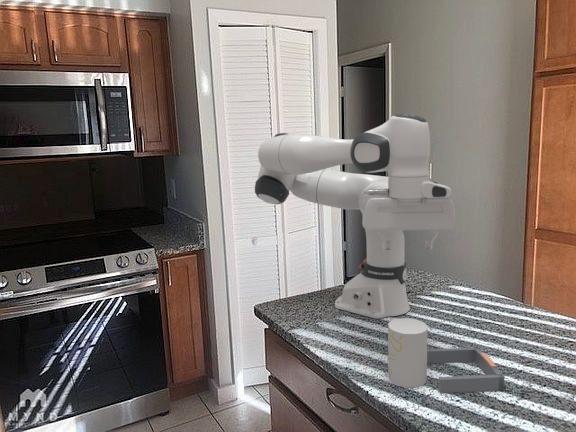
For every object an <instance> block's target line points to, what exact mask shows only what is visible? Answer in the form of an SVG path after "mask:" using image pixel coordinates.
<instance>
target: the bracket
mask: <svg viewBox="0 0 576 432" xmlns="http://www.w3.org/2000/svg"><path fill="white" fill-rule="evenodd" d="M472 362H474V363H475V364H476V365H477V366H478V367H479V369H480V370H481V372H482V373H484V375H478V374H477V375H460V376H456V375H455V376H439V377H438V392H439V394H451V393H453V394H454V393H455V394H456V393H477V392H478V393H479V392H482V393H483V392H500V391H501V392H502V391H503V392H504V391H505V379H506V378H505V375H503V373H501V371H500V370H499V369H498V368H497V364H495V362H494V361H492V359H491V358H490V357H489V355H487V353H485V352H483V351H482V350H481V349H480V348H479V347H456V348H452V347H451V348H433V349H428V348H427V365H429V364H449V363H450V364H452V363H472Z"/></svg>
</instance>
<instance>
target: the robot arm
mask: <svg viewBox="0 0 576 432" xmlns="http://www.w3.org/2000/svg"><path fill="white" fill-rule="evenodd" d="M257 154H258V158H257V159H258V162H259V164H260V165H261V166H260V169H259V171H258V175H257V180H255V183H254V184H255V185H254V193H255V195H256V197H257V198H259V199H260V200H261V201H263V202H264V203H267V204H271V205H281V204H284V202H286V200H287V198H288V197H289V195H290V192H291V194H293V196H294V197H296V198H299V199H301V200H303V201H307V202H310V203H313V204H318V205H322V206H328V207H331V208H337V209H341V210H360V213H361V215H362V222H361V223H362V224H361V225H362V227H363V229H364V230H365V239H366V240H365V241H366V244H365V245H366V258H365V259H364V260H363V262H361V263H360V265H359V266H358V267H359V268H358V270H359V271H360V273H359V274H358V273H357V275H355V276H354V277H352V278H351V279H350V280H349V281H347V282H346V283H345V285H344V287H343V289H342V293H341V295H339V296H338V298H336V300H335V302H334V307H335V309H338V310H342V311H345V312H350V313H352V314H353V313H354V314H357V315H361V316H364V317H368V318H372V319H378V320H379V319H383V318H386V317H396V316H401V315H404V314H406V313H408V312H409V311H410V309H411V306H410V304H409V300H408V299H409V298H408V296H407V295H408V294H407V289H406V280H407V263H406V261H405V254H406V253H405V251H406V250H405V245H406V244H405V242H406V241H405V240H406V239H405V235H404V231H429V233H430V234H431V235H430V236H429V238H428V239H425V240H424V249H425V250H433V248H434V241H436V238H437V237H438V236H439V231H442V230H443V231H447V230H448V231H449V230H451V231H452V229H454V227H455V226H456V222H457V221H456V209H455V207H456V206H455V204H454V201H453V199H452V198H450V197H452V189H451V187H449V186H447V185H444V184H441V183H438V182H436V181H431V180H430V170H429V160H430V157H431V135H430V127H429V123H428V121H427V119H425V118H424V117H422V116H420V115H415V114H406V113H398V114H393V115H392V116H391V117H390V118H389V119H388V120H387V121H385V122H384V123H382V124H381V125H379V126H376V127H374V128H371V129H369V130H367V131H364V132H361V133H359V134H357V135H356V136H355V138H353V139H342V138H334V137H333V138H332V137H327V136H322V135H321V136H320V135H315V134H308V133H286V132H280V133H276V134H275V135H274V136H273V137H270V138H268V139H266V140H264V141H263V142H262V143H261V144H260V146H259V148H258V153H257ZM346 164H353V166H354V167H355V168H356V169H357V170H358V171H360V172H362V173H352V172H347V171H340V170H334V169H329V168H334V167H336V166H341V165H346ZM363 172H364V174H363ZM379 172H387V174H388V176H385V175H384V176H382V175H377V174H376V175H374V174H372V173H379ZM365 173H369V174H365ZM370 173H371V174H370Z"/></svg>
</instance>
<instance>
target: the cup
mask: <svg viewBox="0 0 576 432" xmlns="http://www.w3.org/2000/svg"><path fill="white" fill-rule="evenodd" d="M428 331H429V329H428V325H427V323H425V321H422V320H419V319H416V318H410V317H403V318H402V317H401V318H400V317H399V318H395V319H392V320H390V321H389V322H388V324H387V334H388V335H387V339H388V340H387V344H388V345H387V347H388V348H387V356H388V357H387V363H388V365H387V367H388V368H387V370H388V371H387V373H388V374H387V377H388V380H389V381H390V382H391V383H392V384H394V385H396V386H398V387H402V388H407V389H415V388H419V387H423V386H424V385H425V384H427V381H428V378H427V377H428V364H427V349H428V333H429V332H428Z"/></svg>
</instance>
